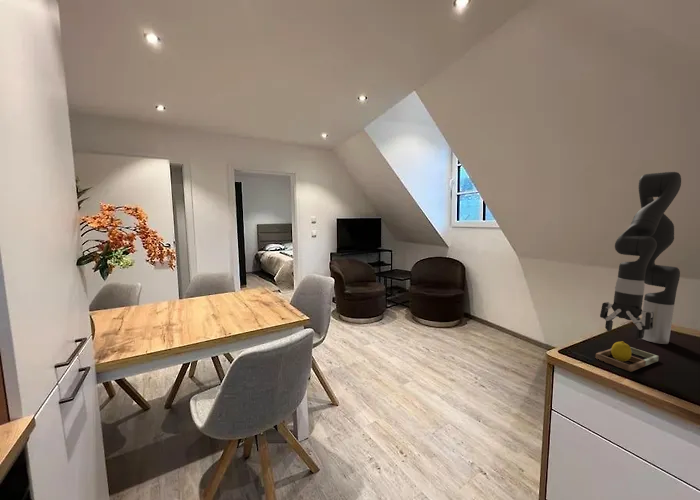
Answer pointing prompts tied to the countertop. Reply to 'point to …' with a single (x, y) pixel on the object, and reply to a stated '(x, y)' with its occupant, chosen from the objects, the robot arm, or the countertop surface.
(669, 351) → the countertop surface
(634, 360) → the frame
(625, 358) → the lemon
